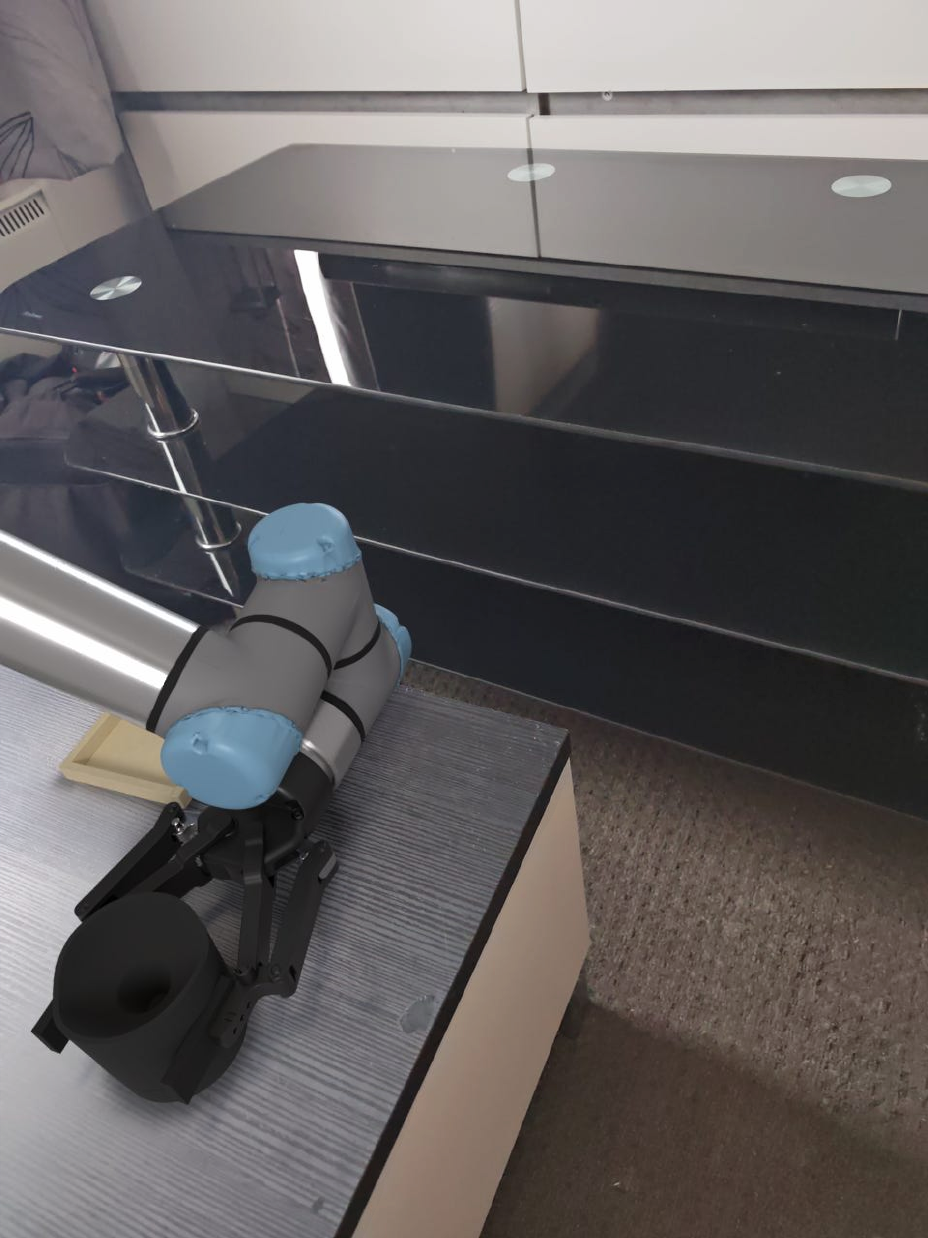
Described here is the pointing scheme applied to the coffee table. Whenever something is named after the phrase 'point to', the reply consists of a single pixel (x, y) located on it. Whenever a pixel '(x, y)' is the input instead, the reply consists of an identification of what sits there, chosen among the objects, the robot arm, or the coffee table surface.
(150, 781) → the pad
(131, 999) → the pen holder
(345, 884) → the coffee table surface
